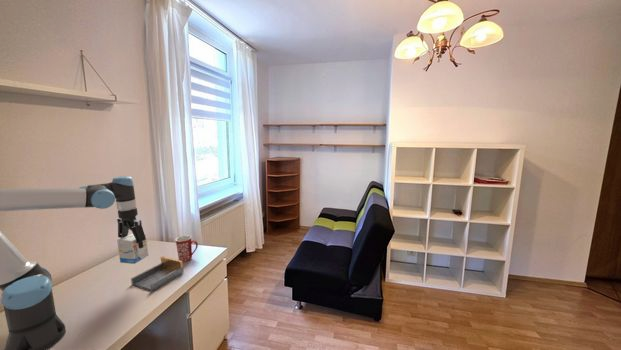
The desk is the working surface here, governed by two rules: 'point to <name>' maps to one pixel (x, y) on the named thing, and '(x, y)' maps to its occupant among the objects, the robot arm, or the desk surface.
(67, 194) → the robot arm
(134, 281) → the grey open box
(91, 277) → the desk surface
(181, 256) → the mug
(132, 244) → the ink box
